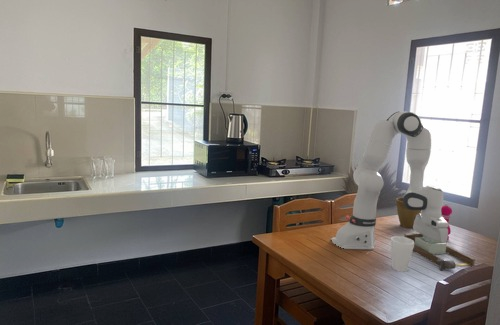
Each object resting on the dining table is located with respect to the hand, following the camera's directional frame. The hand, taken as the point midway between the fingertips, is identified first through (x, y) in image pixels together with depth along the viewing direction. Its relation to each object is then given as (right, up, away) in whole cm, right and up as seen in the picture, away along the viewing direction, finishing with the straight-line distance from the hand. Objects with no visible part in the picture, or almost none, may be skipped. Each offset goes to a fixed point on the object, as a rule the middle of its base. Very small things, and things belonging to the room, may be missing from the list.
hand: (427, 245), depth 188 cm
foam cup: (-24, -5, -24) cm, 34 cm away
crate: (0, -3, -1) cm, 3 cm away
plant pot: (+5, +3, +38) cm, 38 cm away
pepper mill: (+17, -1, +18) cm, 25 cm away
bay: (0, -4, -8) cm, 9 cm away
